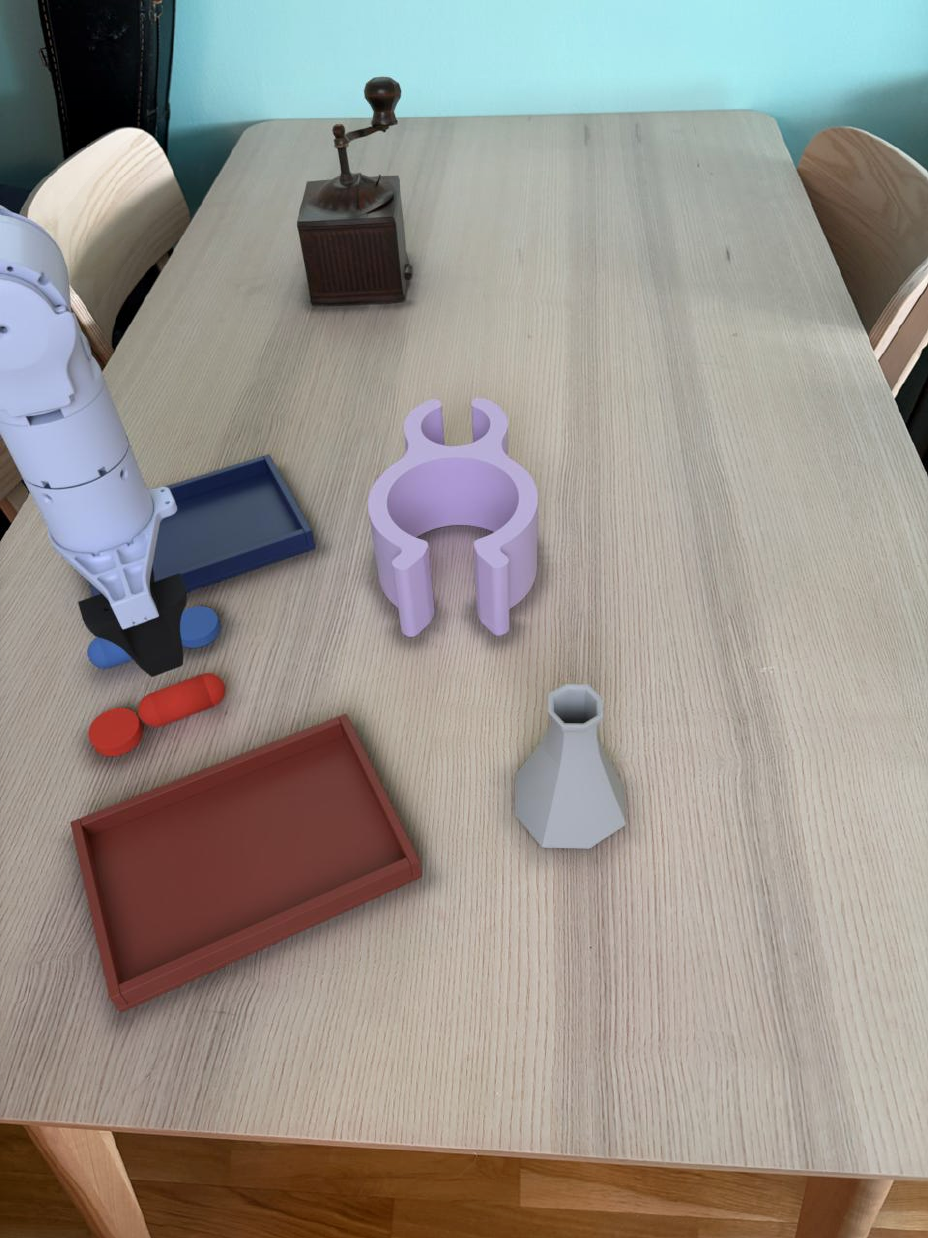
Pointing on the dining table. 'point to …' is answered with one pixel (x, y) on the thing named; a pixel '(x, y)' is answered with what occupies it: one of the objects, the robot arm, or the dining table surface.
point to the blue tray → (229, 525)
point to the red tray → (237, 859)
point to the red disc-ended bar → (154, 713)
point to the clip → (455, 515)
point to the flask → (570, 776)
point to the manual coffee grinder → (356, 222)
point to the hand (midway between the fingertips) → (151, 626)
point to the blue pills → (194, 628)
